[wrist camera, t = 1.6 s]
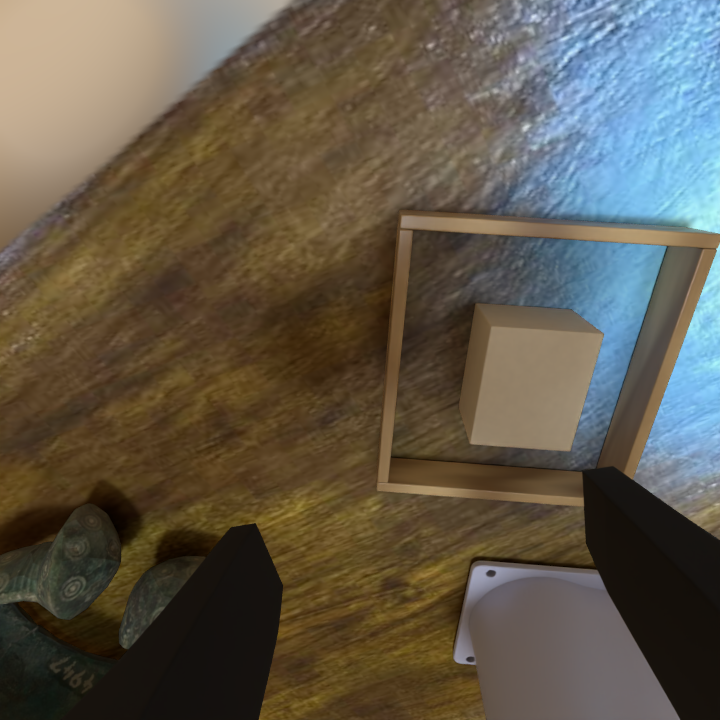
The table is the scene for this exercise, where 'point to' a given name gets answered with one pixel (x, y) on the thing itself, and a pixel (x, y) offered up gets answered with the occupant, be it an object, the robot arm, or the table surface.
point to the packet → (527, 376)
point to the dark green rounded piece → (69, 613)
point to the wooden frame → (641, 386)
